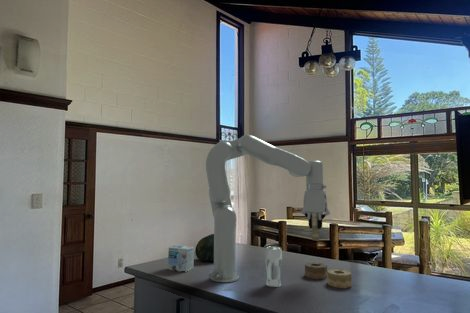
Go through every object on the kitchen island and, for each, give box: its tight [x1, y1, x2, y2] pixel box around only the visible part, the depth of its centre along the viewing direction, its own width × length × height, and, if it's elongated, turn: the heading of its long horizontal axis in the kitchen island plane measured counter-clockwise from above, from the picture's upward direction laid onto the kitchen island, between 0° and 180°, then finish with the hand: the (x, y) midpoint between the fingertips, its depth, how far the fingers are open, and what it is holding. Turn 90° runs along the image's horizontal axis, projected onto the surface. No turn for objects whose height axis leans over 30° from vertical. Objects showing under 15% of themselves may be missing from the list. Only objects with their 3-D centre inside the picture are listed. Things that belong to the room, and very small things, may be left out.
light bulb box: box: [167, 244, 195, 273], centre depth 164 cm, size 11×7×11 cm, turn 68°
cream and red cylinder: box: [311, 213, 320, 241], centre depth 155 cm, size 3×3×14 cm
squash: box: [194, 233, 214, 262], centre depth 183 cm, size 14×15×15 cm
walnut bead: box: [304, 262, 328, 280], centre depth 153 cm, size 9×9×5 cm
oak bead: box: [327, 268, 352, 289], centre depth 141 cm, size 9×9×5 cm
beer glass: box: [264, 245, 283, 288], centre depth 140 cm, size 7×7×15 cm
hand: (315, 228), depth 154 cm, fingers closed on cream and red cylinder, 3 cm apart
